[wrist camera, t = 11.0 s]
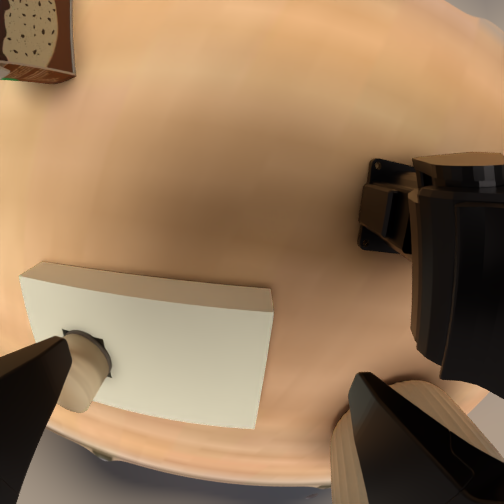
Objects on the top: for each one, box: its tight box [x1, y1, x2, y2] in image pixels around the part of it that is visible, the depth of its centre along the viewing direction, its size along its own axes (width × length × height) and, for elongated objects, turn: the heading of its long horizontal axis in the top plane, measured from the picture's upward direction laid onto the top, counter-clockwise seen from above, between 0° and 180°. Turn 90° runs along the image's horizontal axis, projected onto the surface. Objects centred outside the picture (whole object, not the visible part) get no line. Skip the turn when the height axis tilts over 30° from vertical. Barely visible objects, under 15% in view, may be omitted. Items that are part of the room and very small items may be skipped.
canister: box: [330, 380, 504, 504], centre depth 16 cm, size 18×18×21 cm
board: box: [19, 261, 274, 429], centre depth 21 cm, size 20×12×4 cm, turn 85°
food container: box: [0, 0, 76, 84], centre depth 10 cm, size 12×6×10 cm, turn 14°
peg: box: [57, 330, 112, 413], centre depth 18 cm, size 5×5×7 cm
